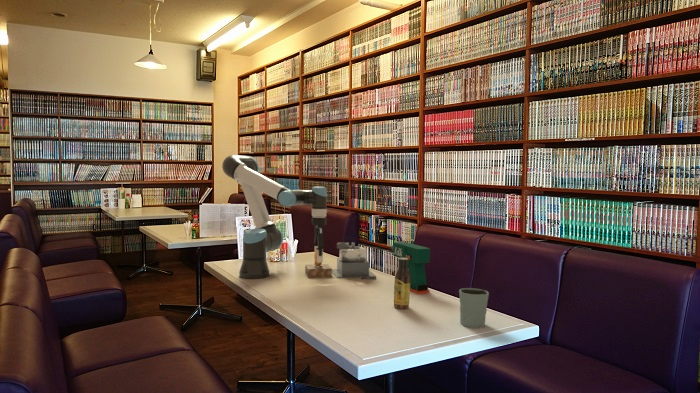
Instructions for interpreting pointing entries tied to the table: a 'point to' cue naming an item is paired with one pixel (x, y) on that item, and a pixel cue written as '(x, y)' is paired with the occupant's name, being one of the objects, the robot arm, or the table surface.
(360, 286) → the table surface
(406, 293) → the sauce bottle
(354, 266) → the stand
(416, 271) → the power tool
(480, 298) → the grey cup
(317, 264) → the orange rounded rod
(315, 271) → the wooden hole block
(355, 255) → the chuck
